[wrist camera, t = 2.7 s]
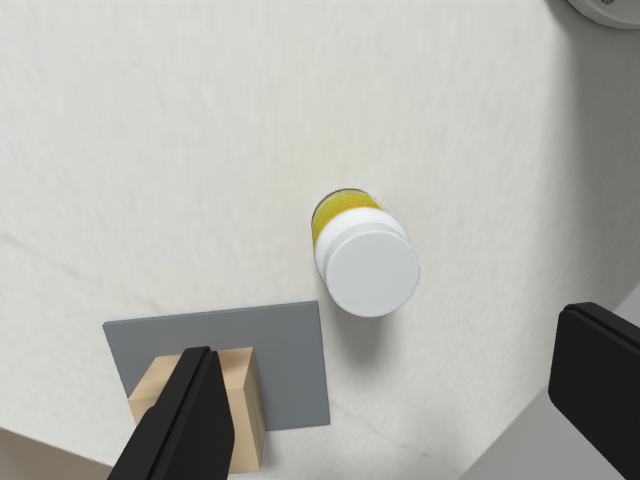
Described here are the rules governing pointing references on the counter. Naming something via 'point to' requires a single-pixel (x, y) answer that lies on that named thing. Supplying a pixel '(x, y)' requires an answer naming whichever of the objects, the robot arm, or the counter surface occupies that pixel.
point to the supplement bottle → (363, 253)
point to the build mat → (232, 333)
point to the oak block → (240, 396)
